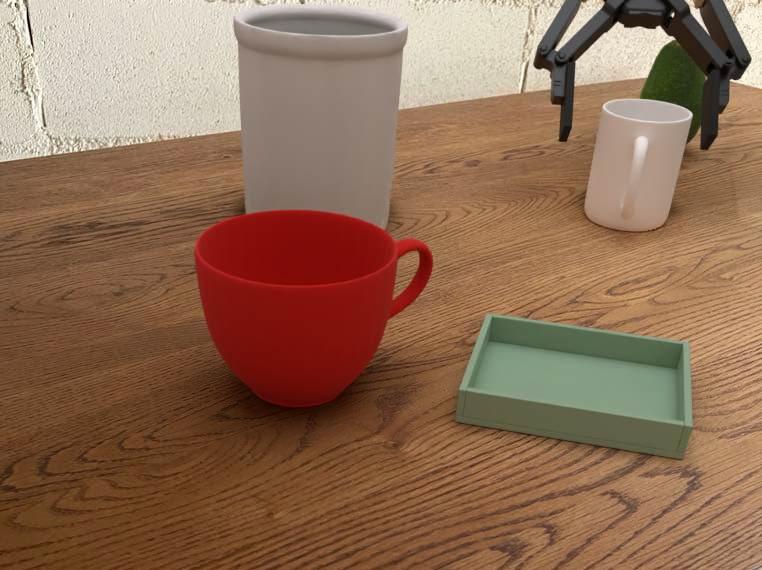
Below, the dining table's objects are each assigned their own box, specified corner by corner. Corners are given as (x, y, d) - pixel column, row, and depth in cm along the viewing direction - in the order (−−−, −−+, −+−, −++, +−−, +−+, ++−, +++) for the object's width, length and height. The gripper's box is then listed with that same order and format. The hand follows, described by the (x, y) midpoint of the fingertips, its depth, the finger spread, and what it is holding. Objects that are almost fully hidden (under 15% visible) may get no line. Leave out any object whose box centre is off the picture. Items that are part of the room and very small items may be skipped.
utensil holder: (336, 187, 98) (340, -3, 87) (427, 232, 88) (443, 25, 77) (213, 213, 91) (200, 9, 80) (298, 264, 81) (296, 42, 70)
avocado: (623, 139, 115) (645, 30, 107) (686, 142, 115) (713, 34, 107) (635, 159, 109) (660, 45, 101) (703, 162, 109) (732, 48, 101)
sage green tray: (681, 372, 68) (690, 341, 67) (682, 460, 59) (693, 426, 58) (482, 343, 71) (486, 312, 69) (454, 422, 62) (458, 389, 60)
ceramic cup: (472, 392, 65) (489, 253, 59) (252, 452, 58) (245, 303, 52) (378, 318, 74) (384, 190, 67) (177, 363, 67) (163, 226, 61)
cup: (666, 208, 96) (692, 103, 89) (665, 251, 87) (693, 137, 80) (585, 199, 97) (605, 94, 91) (576, 240, 88) (597, 127, 82)
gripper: (760, -33, 94) (753, 166, 92) (513, -46, 95) (501, 151, 93) (792, -91, 86) (786, 124, 84) (524, -104, 87) (511, 109, 85)
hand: (636, 139), depth 88 cm, fingers open, 13 cm apart
